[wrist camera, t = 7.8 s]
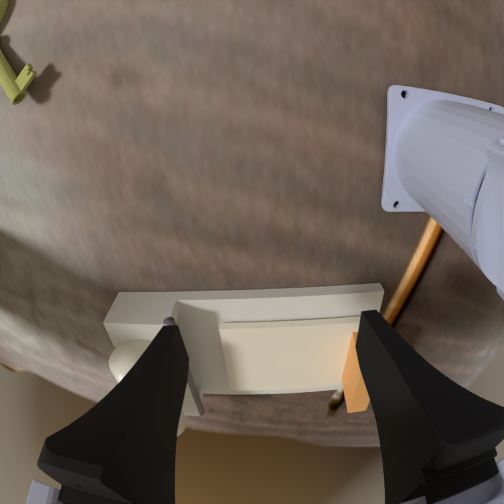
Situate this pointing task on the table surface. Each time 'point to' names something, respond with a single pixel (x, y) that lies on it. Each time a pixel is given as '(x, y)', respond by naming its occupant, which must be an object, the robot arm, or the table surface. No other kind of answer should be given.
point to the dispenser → (207, 327)
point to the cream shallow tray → (295, 356)
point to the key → (6, 76)
